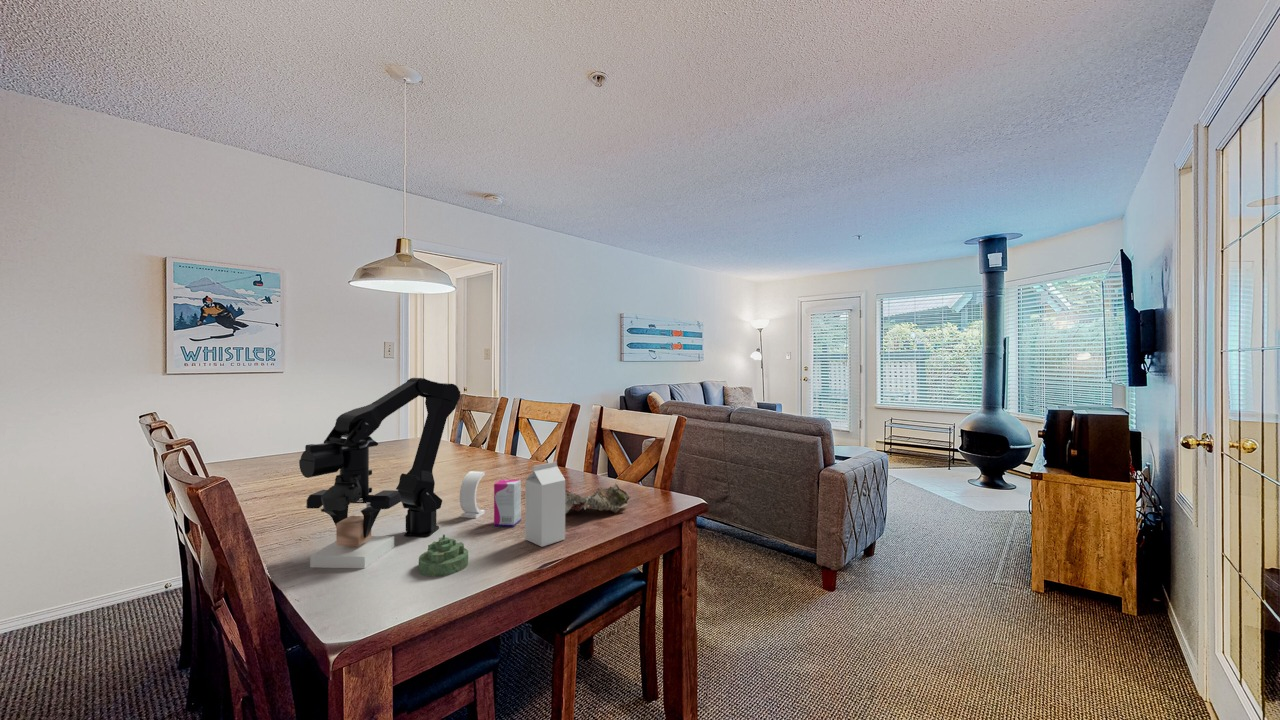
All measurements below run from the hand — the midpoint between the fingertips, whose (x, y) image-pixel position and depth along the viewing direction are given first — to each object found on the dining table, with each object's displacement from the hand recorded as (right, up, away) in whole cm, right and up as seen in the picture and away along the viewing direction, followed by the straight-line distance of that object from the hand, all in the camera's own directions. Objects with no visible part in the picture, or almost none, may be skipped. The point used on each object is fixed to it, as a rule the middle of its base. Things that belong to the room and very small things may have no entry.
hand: (354, 536), depth 112 cm
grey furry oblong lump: (+50, -5, +34) cm, 61 cm away
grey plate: (0, -5, 0) cm, 4 cm away
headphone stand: (+17, -5, +29) cm, 34 cm away
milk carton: (+41, -5, +11) cm, 43 cm away
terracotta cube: (0, -1, 0) cm, 1 cm away
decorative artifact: (+22, -5, -5) cm, 23 cm away
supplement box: (+29, -5, +23) cm, 37 cm away
